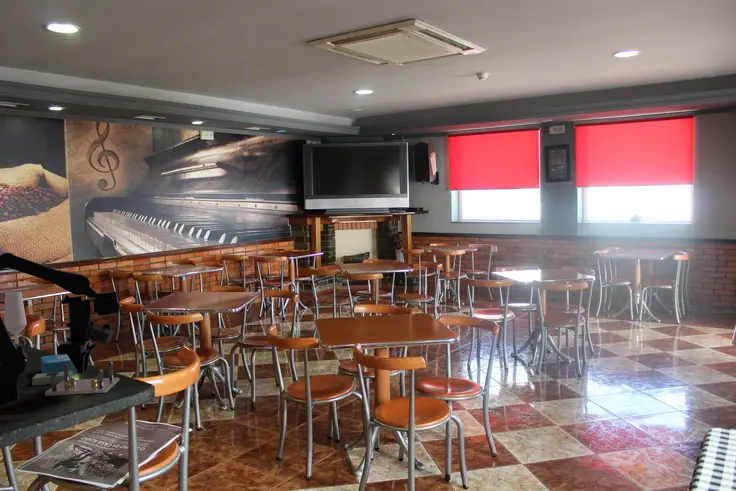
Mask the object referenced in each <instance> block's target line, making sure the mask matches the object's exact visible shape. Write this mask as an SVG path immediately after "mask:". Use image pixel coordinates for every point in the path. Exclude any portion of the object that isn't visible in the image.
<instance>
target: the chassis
mask: <svg viewBox="0 0 736 491" xmlns="http://www.w3.org/2000/svg"><path fill="white" fill-rule="evenodd" d="M113 364H114V362H113V361H109V362H107V366H108V368H107V369H108V377H106V378H105V377H104V370H103V369H97V375H98V376H95V378H87V379H85V378H83V379H77V378H76V377H73V378H70V380H69V374H68V364H64V365H63V367H64V380H63V381H61V382H60V383H56V372H51V384H50V385H51V388H49V389H48V390H46V391H44V394H45V395H44V396H45V397H47V396H48V397H50V396H66V395H67V396H68V395H84V394H85V395H86V394H102V393H104V394H105V393H107V392H108V391H110V389H112V388H113V387H114V386H115V385H116V384H117V383H118V382H119V381H120V377H114V365H113Z"/></svg>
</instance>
